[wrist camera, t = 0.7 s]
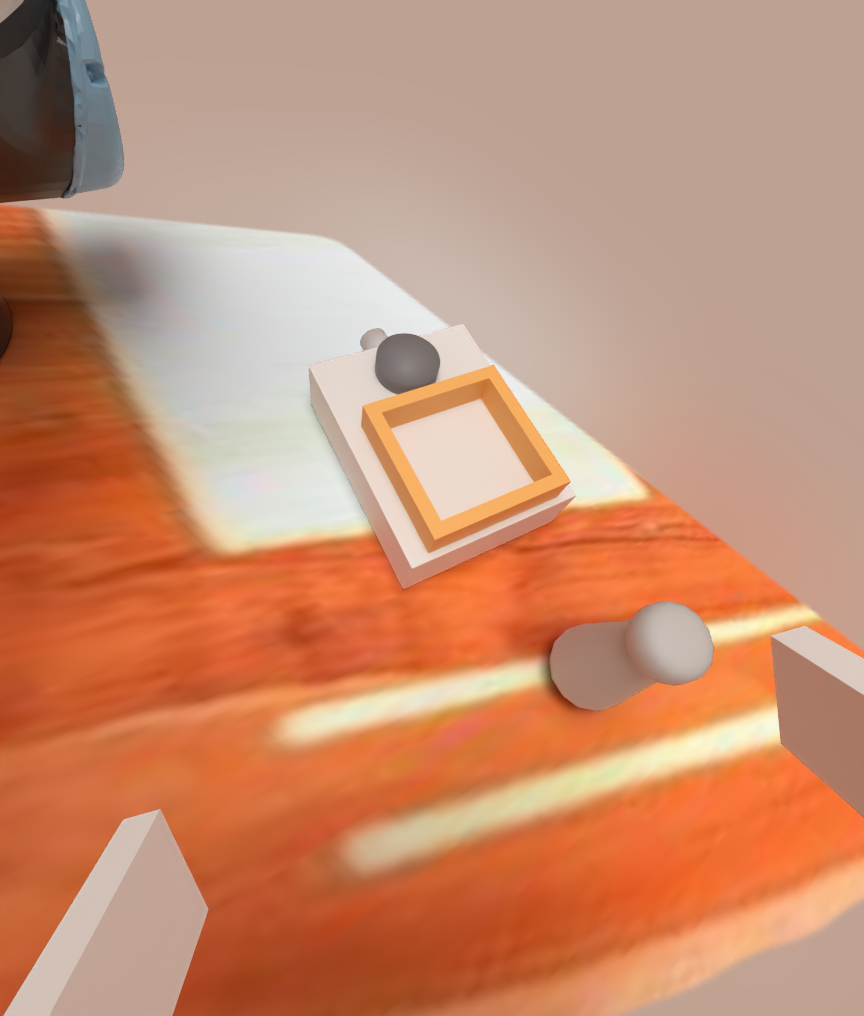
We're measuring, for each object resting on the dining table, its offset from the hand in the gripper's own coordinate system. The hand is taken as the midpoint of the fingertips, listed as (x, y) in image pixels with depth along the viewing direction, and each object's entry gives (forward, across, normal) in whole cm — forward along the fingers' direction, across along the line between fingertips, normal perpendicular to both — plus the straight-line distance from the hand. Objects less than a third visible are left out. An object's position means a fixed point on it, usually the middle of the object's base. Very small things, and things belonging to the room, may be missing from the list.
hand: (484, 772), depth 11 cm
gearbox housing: (+34, +2, +3) cm, 34 cm away
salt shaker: (+24, +8, -15) cm, 29 cm away
